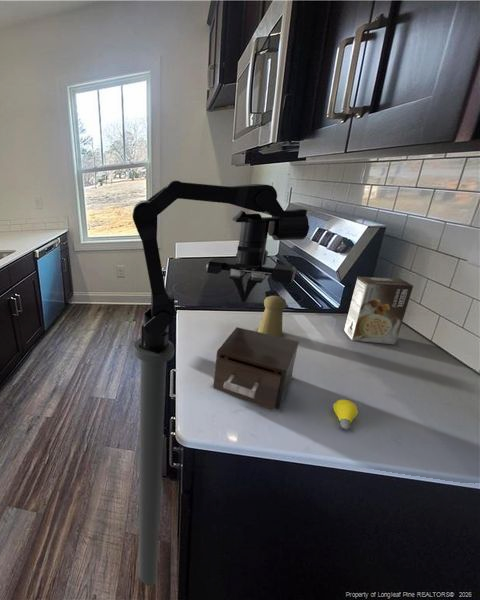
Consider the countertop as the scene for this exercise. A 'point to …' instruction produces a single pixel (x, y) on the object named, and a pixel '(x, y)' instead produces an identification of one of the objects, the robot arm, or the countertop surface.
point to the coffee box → (377, 309)
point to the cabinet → (262, 354)
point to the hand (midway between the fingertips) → (244, 302)
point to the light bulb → (345, 412)
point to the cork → (272, 316)
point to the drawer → (247, 381)
